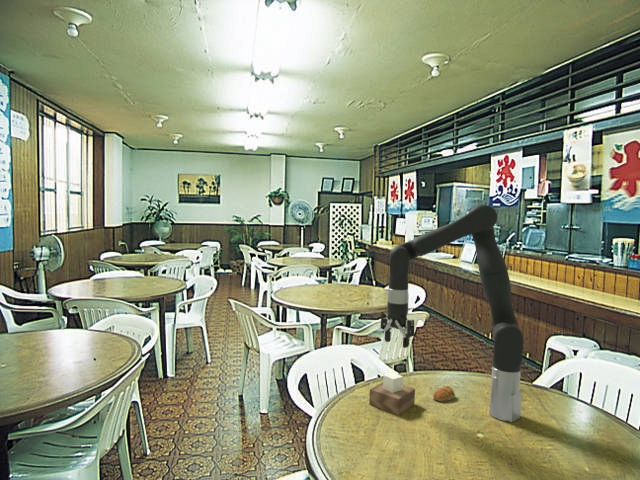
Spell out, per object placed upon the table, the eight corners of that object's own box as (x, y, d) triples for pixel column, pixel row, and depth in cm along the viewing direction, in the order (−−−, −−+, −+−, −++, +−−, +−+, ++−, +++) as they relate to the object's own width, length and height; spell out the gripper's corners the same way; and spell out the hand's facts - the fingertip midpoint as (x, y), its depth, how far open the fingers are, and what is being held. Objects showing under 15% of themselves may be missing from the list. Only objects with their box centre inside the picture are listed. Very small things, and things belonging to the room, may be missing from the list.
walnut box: (414, 404, 160) (415, 388, 160) (398, 415, 151) (398, 399, 151) (386, 395, 168) (387, 380, 167) (369, 405, 159) (369, 389, 158)
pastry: (444, 405, 160) (445, 394, 160) (428, 399, 165) (428, 389, 165) (456, 397, 167) (456, 387, 167) (440, 392, 172) (440, 383, 172)
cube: (402, 389, 158) (402, 376, 158) (392, 392, 156) (393, 379, 155) (392, 385, 163) (393, 372, 162) (383, 388, 160) (383, 374, 159)
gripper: (420, 303, 155) (418, 347, 156) (390, 296, 166) (388, 338, 167) (406, 305, 150) (404, 351, 151) (376, 298, 161) (375, 341, 162)
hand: (396, 344), depth 159 cm, fingers open, 8 cm apart
